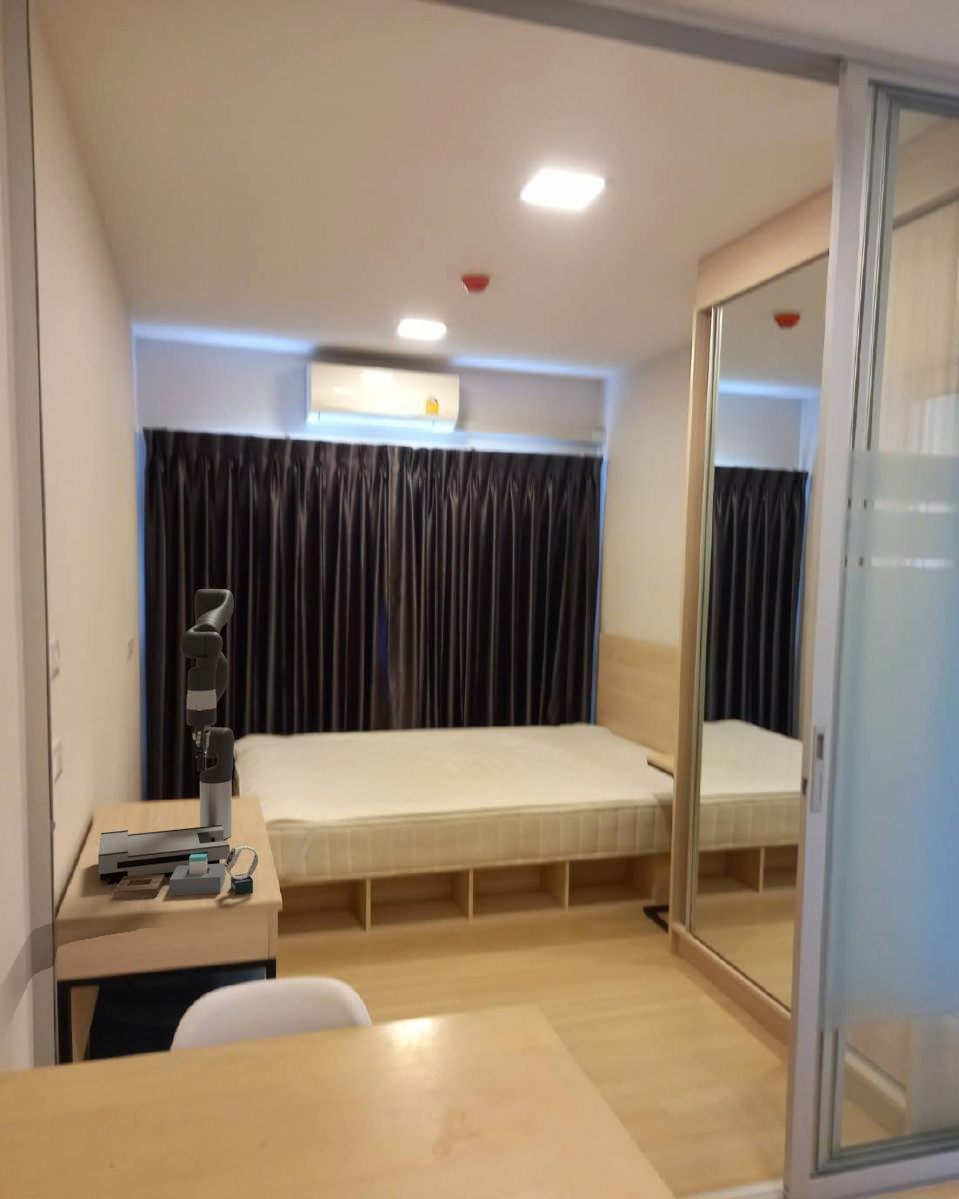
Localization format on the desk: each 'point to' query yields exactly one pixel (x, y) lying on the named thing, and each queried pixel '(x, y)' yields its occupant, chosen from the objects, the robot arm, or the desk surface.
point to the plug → (198, 864)
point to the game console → (157, 851)
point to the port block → (197, 880)
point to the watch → (241, 881)
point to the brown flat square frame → (139, 886)
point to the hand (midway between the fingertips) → (201, 770)
